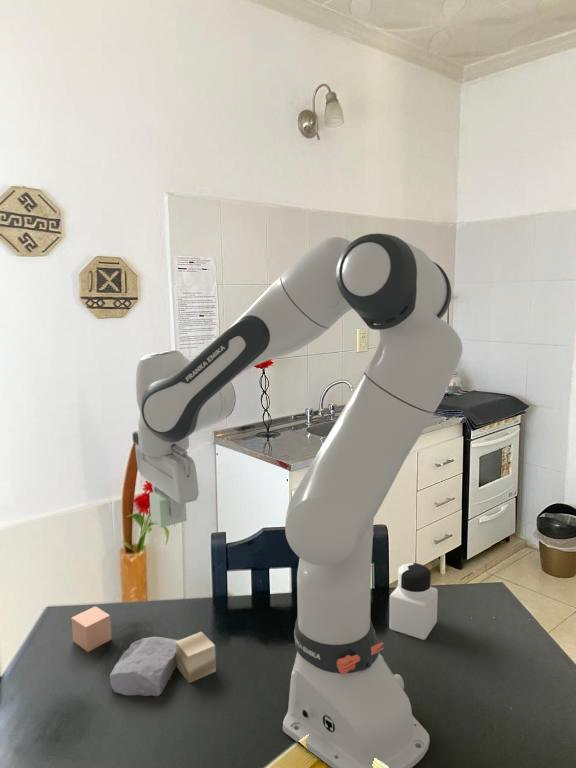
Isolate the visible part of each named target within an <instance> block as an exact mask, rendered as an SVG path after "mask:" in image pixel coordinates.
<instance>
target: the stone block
mask: <svg viewBox="0 0 576 768" xmlns="http://www.w3.org/2000/svg"><path fill="white" fill-rule="evenodd" d="M176 641H179V639H173V638H166V637H160V636H151V637H143V638H140V639H138V640H136V641H134V642H132V643H131V644H130V646H129V648H128V649H126V650H125V651H124V652H123V654H122V655H121V656H120V658H119V659H118V661H117V662H116V663H115V664H114V667H113V669H112V671H110V675H109V683H110V686H111V688H112V690H113V692H114V693H117V694H119V695H123V696H143V697H149V696H151V697H160V695H162V693H163V691H164V690H165V688H166V686H167V684H168V682H169V681H170V679H171V676H172V675H173V673H174V672H173V671H175V670H176V668H177V662H176V643H175V642H176ZM168 680H169V681H168Z"/></svg>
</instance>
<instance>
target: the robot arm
mask: <svg viewBox="0 0 576 768" xmlns="http://www.w3.org/2000/svg"><path fill="white" fill-rule="evenodd" d="M262 293H263V294H262ZM262 293H261V294H262V295H261V296H259V298H257V299H256V301H255V302H254V303H253V304H252V305H251V306H250V307H249V308H248V309H247V310H246V311H245V312H244V313H242V315H241V316H240V317H239V318H238V319H237V320H236V321H234V323H233V324H232V325H231V326H230V327H228V328H227V330H225V331H224V332H222V334H220V335H219V336H218V337H217V338H215V339H214V341H212V342H210V344H209V345H208V346H207V347H205V349H203V350H202V351H201V352H200V353H199V354H197V355H196V356H195V357H194V358H193V359H192V360H190V359H187V357H185V355H184V354H183V353H182V352H181V351H178V350H174V349H173V350H166V351H161V352H155V353H150V354H146V355H144V356H142V357H141V358H140V359H139V360H138V363H137V367H136V374H135V375H136V376H135V391H136V394H135V395H136V402H137V403H136V404H137V407H138V409H139V417H138V418H139V419H138V429H137V430H134V431H132V433H131V438H132V442H133V443H134V444H135V446H134V448H135V457H136V464H137V470H138V472H139V475H140V477H142V478H143V479H144V480H146V481H147V482H149V484H151V488H152V491H153V492H158V491H162V492H164V493H165V494H167V495H168V496H169V497H170V501H171V507H169V515H170V516H171V517H172V518H174V519H175V518H179V517H181V515H182V514H181V508H182V505H183V503H186V504H189V503H191V502H192V503H193V502H194V501H197V499H198V497H199V493H200V492H199V482H198V475H197V474H198V473H197V468H196V463H195V461H194V460H193V458H192V457H191V456H189V455H188V451H187V450H188V449H189V448H190V436H191V435H192V434H194V433H198V432H200V431H202V430H204V429H207V428H209V427H211V426H213V425H216V424H218V423H219V422H220V423H221V422H222V421H224V420H226V419H227V418H229V417H230V416H231V415H232V413H233V411H234V410H235V406H236V401H237V400H236V391H235V388H234V386H233V383H232V382H233V381H234V380H235V379H236V378H237V377H239V376H240V375H241V374H243V373H244V372H246V371H248V370H249V369H251V368H253V367H255V366H257V365H259V364H262V363H266V362H267V361H270V360H273V359H275V358H280V357H282V356H285V355H288V354H292V353H294V352H296V351H298V350H300V349H302V348H304V347H305V346H307V345H309V344H310V343H312V342H314V341H315V340H317V339H318V338H320V337H321V336H322V335H324V333H325V332H327V331H328V330H329V329H330V328H331V327H332V326H333V325H335V324H336V322H338V321H339V319H341V318H342V317H343V316H344V315H345V314H347V313H348V312H349V311H352V310H353V311H354V312H356V314H357V315H358V316H359V317H360V318H361V320H362V321H363V322H364V323H365V325H366V326H367V327H368V328H369V329H371V330H376V331H379V344H378V346H377V348H376V350H375V353H374V355H373V357H372V359H371V360H370V362H369V364H368V365H367V366H366V369H365V370H364V372H363V373H362V375H361V376H360V379H359V381H358V383H356V386H355V388H354V390H353V391H352V393H351V395H350V397H349V398H348V400H347V402H346V403H345V405H344V407H343V409H342V411H341V412H340V414H339V416H338V417H337V419H336V421H335V423H334V424H333V425H332V427H331V429H330V431H329V433H328V435H327V437H326V438H325V440H324V442H323V443H322V445H321V447H320V448H319V450H318V452H317V454H316V455H315V457H314V459H312V462H311V463H310V466H309V467H308V469H307V471H306V473H305V474H304V476H303V477H302V479H301V480H300V483H299V484H298V486H297V487H296V489H295V490H294V491H295V492H294V493H293V495H292V496H291V499H290V501H289V502H288V506H287V510H286V515H285V524H284V525H285V526H284V527H285V529H284V530H285V531H284V533H285V537H286V540H287V543H288V545H289V547H290V549H291V550H292V551H293V552H294V554H295V555H296V556H297V557H298V560H299V561H298V567H297V571H296V572H297V573H296V574H297V575H296V589H297V591H296V593H297V594H296V595H297V596H296V597H297V601H296V603H297V618H295V619H296V620H295V623H294V631H293V636H294V637H293V638H294V645H295V646H294V647H295V650H296V656H295V659H294V663H293V667H292V671H291V675H290V683H289V693H288V695H289V696H288V707H287V712H286V715H285V716H284V717H283V718H284V719H283V721H282V731H283V732H284V733H285V735H287V736H289V737H290V738H291V739H293V740H294V741H295V742H297V741H299V740H300V739H302V738H303V737H305V736H306V735H308V734H309V736H308V738H307V739H306V741H305V742H306V746H307V749H306V750H307V751H309V752H311V753H312V754H313V755H314V756H316V757H317V758H319V759H320V760H321V761H323V762H324V763H325V764H326V765H328V766H329V767H331V768H373V766H372V764H373V761H374V758H377V759H378V760H380V761H382V762H384V763H385V764H386V765H388V766H389V768H413V767H414V766H416V764H418V763H419V762H420V761H421V760H422V759H423V758H424V756H425V755H426V753H427V752H428V750H429V747H430V743H431V739H430V734H429V733H428V731H427V730H426V729H425V728H424V727H423V725H421V723H420V722H419V720H417V719H416V718H415V715H413V712H412V705H411V702H410V699H409V697H408V695H407V694H406V692H405V690H404V689H405V683H404V678H403V677H402V676H401V675H400V674H398V673H395V674H393V672H392V670H391V668H389V666H388V664H387V663H386V661H385V660H384V656H382V655H381V654H380V652H381V651H382V650H384V647H382V646H383V645H384V642H383V641H380V642H379V643H378V639H377V636H376V631H375V628H374V625H373V622H372V619H371V583H372V582H371V580H372V579H371V578H372V577H371V576H372V575H371V574H372V561H373V560H372V558H373V538H374V522H375V521H374V519H375V517H376V515H377V513H378V511H379V509H380V508H381V506H382V504H383V502H384V501H385V498H386V497H387V495H388V494H389V491H390V489H392V485H393V483H395V480H396V479H397V476H398V474H399V472H400V471H401V468H402V467H403V465H404V463H405V461H406V459H407V457H409V455H410V453H411V450H413V447H415V445H416V444H417V443H416V442H417V441H418V439H419V438H420V437H421V435H422V434H423V431H424V430H425V428H426V426H427V425H428V424H429V422H430V421H431V418H433V416H434V414H435V412H436V410H437V409H438V407H439V406H440V404H441V403H442V400H443V399H444V396H445V394H446V393H447V390H448V389H449V386H450V384H451V382H452V380H453V378H454V375H455V373H456V371H457V368H458V365H459V363H460V360H461V357H462V354H463V343H462V340H461V337H460V336H459V334H458V333H457V331H456V329H454V328H453V327H452V326H451V325H450V324H449V323H448V322H446V321H445V320H443V319H442V318H444V317H443V316H444V315H445V314H446V313H447V311H448V309H449V307H450V305H451V300H452V287H451V282H450V279H449V277H448V275H447V273H446V272H445V270H444V269H443V268H442V267H441V266H440V265H439V264H438V263H436V262H434V261H433V260H432V259H431V258H430V257H429V256H428V255H427V253H426V252H424V251H423V250H422V249H420V248H418V247H416V246H415V245H412V244H410V243H408V242H406V241H405V240H403V239H401V238H399V237H398V236H395V235H392V234H386V233H377V232H376V233H369V234H365V235H362V236H360V237H357V238H355V239H354V240H352V241H351V240H349V239H346V238H343V237H339V236H332V237H329V238H327V239H324V240H323V241H321V242H320V243H318V244H316V245H315V246H314V247H312V248H310V249H309V250H308V251H307V252H305V254H303V255H302V256H301V257H299V258H298V259H297V260H296V261H295V262H293V263H292V264H291V265H290V266H289V267H288V268H286V270H285V271H284V272H283V273H282V274H281V275H280V276H279V277H277V279H276V280H274V282H273V283H271V285H270V286H269V287H268V288H267V289H266V290H265V291H264V292H262ZM153 492H152V493H153Z"/></svg>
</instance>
